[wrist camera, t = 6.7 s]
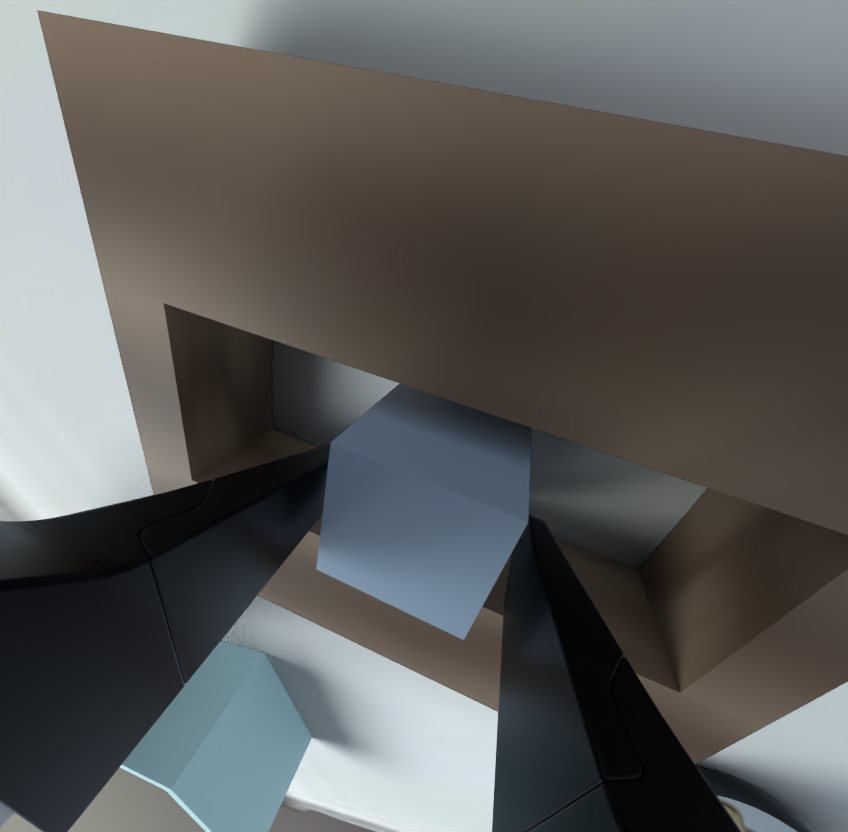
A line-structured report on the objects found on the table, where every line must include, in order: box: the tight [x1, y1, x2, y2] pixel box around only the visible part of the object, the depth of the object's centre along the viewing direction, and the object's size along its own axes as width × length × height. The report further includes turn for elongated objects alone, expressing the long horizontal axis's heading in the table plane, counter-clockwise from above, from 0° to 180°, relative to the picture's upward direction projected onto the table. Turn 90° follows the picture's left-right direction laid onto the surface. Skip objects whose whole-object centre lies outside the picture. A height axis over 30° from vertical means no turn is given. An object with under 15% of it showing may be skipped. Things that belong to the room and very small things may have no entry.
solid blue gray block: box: [316, 383, 531, 640], centre depth 10 cm, size 4×4×6 cm
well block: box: [37, 10, 848, 764], centre depth 10 cm, size 16×20×4 cm
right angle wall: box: [120, 641, 312, 832], centre depth 26 cm, size 12×12×8 cm
